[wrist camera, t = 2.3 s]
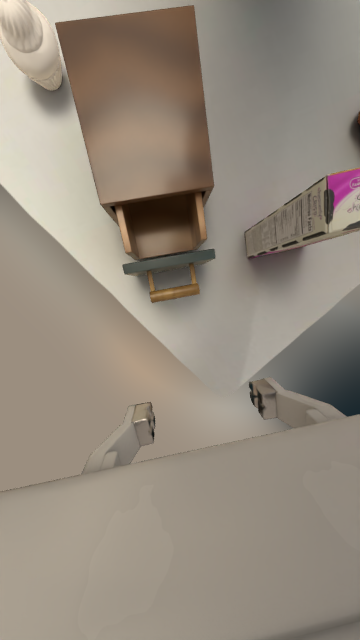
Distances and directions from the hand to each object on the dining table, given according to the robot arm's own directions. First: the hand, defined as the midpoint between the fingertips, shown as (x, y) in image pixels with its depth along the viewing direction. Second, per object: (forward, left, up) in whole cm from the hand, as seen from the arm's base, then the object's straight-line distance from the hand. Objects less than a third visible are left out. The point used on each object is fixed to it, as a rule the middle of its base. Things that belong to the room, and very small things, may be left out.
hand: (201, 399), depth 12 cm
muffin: (-38, -12, -22) cm, 46 cm away
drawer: (-15, 0, -20) cm, 25 cm away
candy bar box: (-12, +19, -22) cm, 32 cm away
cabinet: (-25, 0, -21) cm, 33 cm away
